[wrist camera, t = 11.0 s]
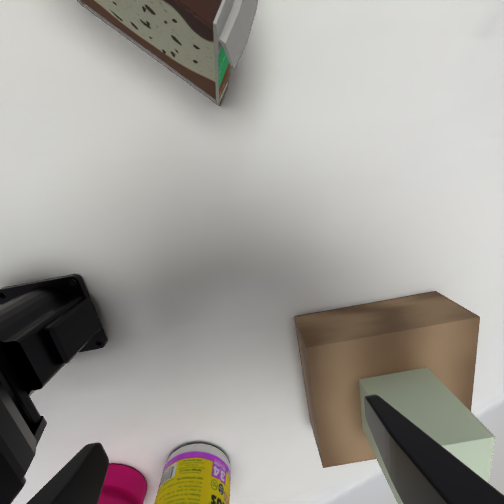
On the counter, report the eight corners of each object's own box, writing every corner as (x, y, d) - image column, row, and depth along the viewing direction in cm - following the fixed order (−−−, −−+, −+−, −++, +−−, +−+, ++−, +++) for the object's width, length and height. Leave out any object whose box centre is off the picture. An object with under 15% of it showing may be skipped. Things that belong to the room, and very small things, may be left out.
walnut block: (310, 422, 24) (323, 467, 20) (294, 316, 21) (306, 348, 17) (431, 401, 24) (467, 443, 20) (435, 291, 21) (479, 316, 17)
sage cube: (362, 429, 19) (402, 512, 15) (358, 379, 18) (401, 452, 13) (426, 418, 19) (486, 498, 14) (427, 367, 18) (495, 436, 13)
